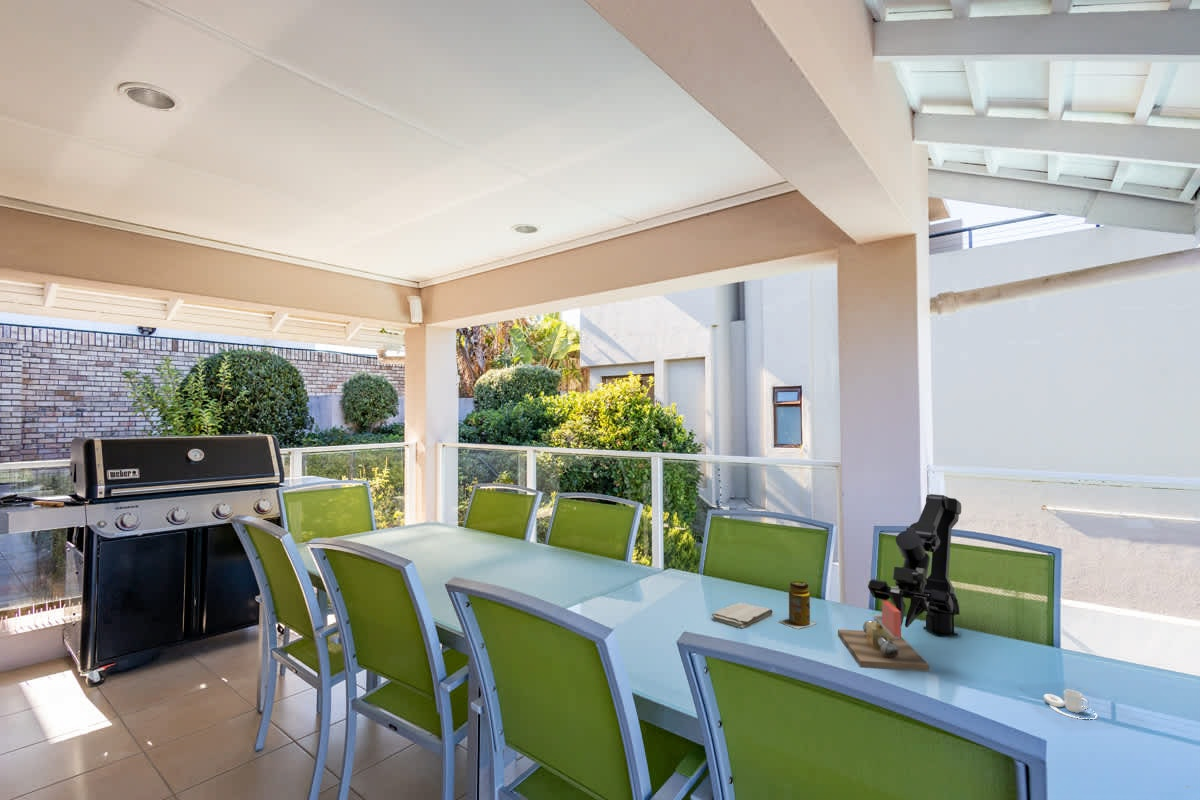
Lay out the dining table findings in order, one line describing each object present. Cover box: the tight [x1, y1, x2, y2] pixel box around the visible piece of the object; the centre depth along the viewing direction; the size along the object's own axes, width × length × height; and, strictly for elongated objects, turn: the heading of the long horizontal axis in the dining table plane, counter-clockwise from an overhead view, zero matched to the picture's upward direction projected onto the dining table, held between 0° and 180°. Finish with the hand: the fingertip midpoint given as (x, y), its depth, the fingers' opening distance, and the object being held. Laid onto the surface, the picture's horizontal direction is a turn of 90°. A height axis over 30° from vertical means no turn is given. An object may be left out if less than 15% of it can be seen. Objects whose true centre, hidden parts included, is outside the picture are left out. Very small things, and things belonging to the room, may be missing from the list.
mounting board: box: [837, 629, 930, 672], centre depth 155 cm, size 22×16×2 cm
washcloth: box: [711, 602, 773, 629], centre depth 182 cm, size 12×18×3 cm, turn 136°
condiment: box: [778, 580, 817, 630], centre depth 177 cm, size 7×8×12 cm
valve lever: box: [873, 600, 902, 638], centre depth 149 cm, size 15×3×7 cm, turn 171°
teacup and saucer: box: [1043, 689, 1099, 721], centre depth 124 cm, size 9×8×4 cm
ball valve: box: [862, 620, 899, 658], centre depth 155 cm, size 16×5×6 cm, turn 171°
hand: (903, 625), depth 144 cm, fingers closed
